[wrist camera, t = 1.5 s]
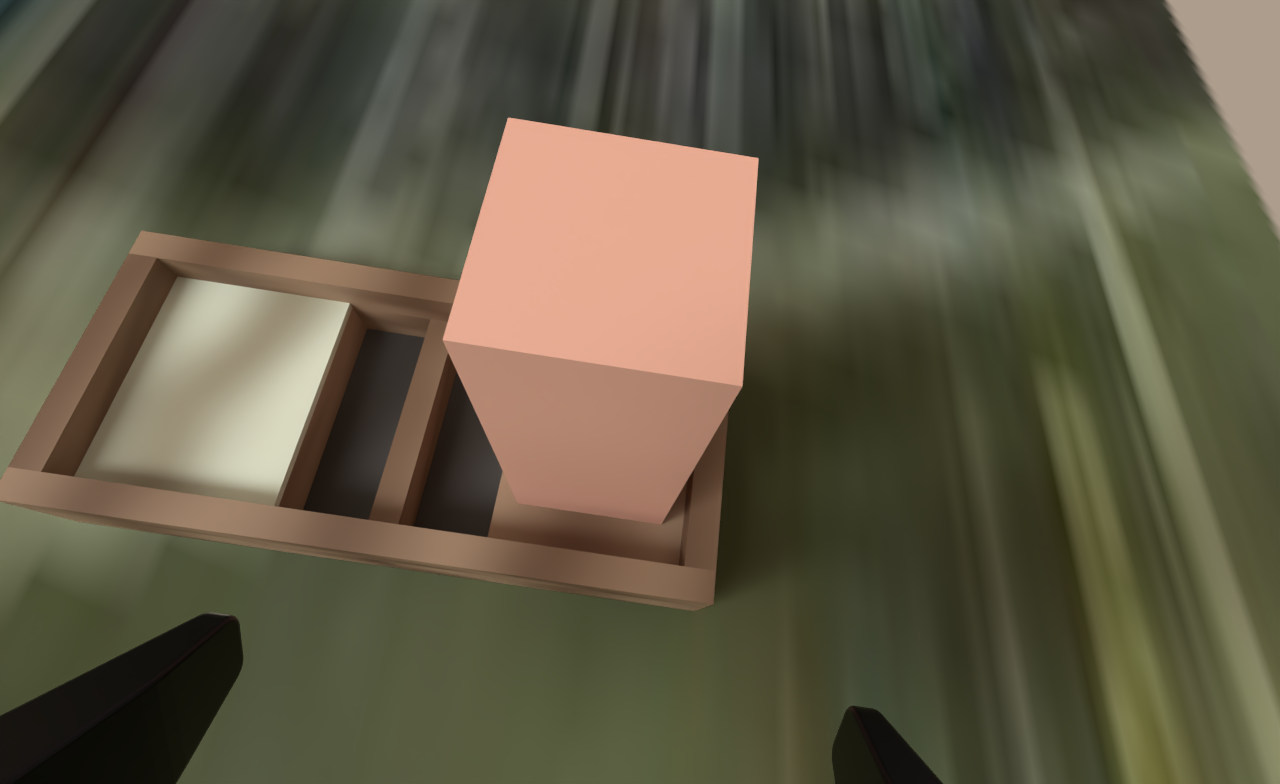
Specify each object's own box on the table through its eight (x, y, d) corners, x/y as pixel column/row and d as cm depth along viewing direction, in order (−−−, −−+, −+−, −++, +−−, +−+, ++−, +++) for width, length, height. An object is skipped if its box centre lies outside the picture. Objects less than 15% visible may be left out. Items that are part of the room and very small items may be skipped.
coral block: (676, 393, 23) (758, 158, 12) (661, 524, 21) (742, 385, 10) (545, 373, 23) (508, 117, 12) (517, 503, 21) (442, 339, 10)
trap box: (716, 364, 26) (735, 323, 23) (694, 611, 22) (713, 604, 19) (197, 283, 26) (141, 231, 22) (79, 521, 22) (-11, 498, 18)
